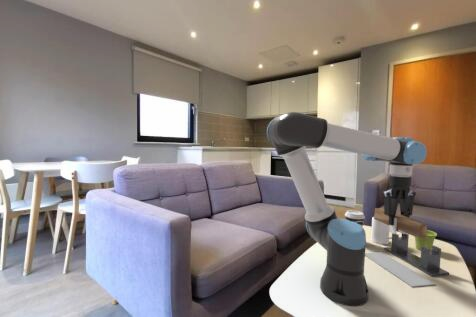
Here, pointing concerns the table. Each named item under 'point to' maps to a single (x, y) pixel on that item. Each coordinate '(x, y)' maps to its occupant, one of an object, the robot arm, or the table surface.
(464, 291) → the table surface
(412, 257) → the stand
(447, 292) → the table surface
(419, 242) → the plant pot
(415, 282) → the mat
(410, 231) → the rail
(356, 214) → the coffee cup
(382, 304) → the table surface
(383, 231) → the mug
